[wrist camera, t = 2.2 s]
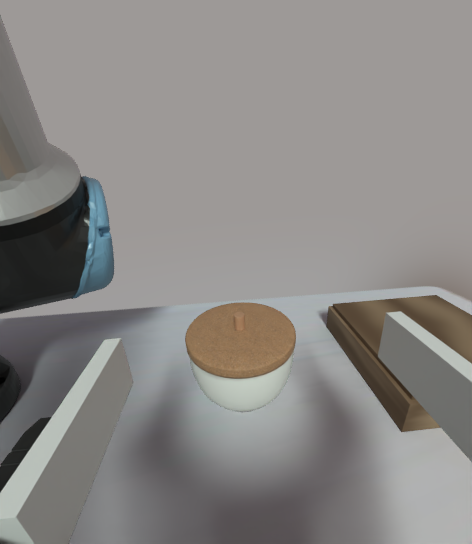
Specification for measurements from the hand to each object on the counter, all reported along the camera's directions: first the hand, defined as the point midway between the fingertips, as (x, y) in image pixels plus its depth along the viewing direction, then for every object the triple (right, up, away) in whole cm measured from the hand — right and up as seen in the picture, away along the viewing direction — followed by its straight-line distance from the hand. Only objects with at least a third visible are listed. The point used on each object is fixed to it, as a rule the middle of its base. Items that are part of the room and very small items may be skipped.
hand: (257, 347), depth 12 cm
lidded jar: (0, -9, +15) cm, 18 cm away
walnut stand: (+21, -7, +17) cm, 28 cm away
